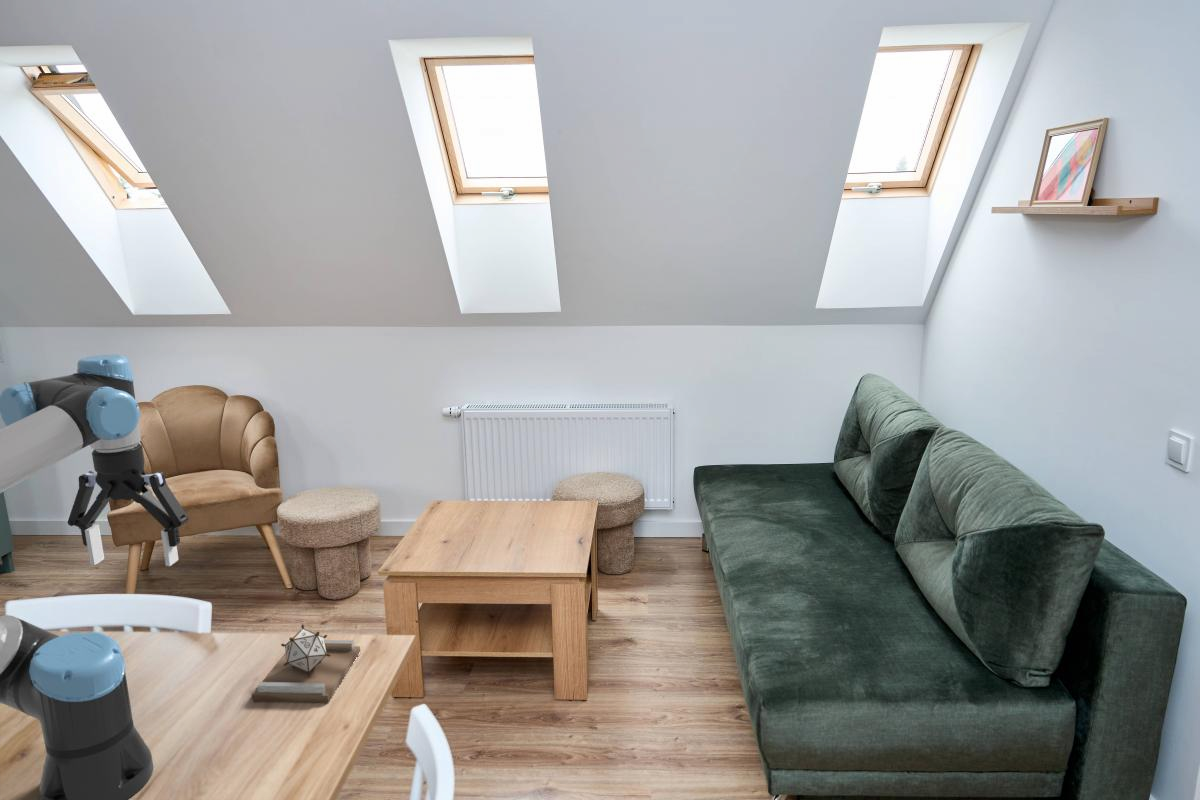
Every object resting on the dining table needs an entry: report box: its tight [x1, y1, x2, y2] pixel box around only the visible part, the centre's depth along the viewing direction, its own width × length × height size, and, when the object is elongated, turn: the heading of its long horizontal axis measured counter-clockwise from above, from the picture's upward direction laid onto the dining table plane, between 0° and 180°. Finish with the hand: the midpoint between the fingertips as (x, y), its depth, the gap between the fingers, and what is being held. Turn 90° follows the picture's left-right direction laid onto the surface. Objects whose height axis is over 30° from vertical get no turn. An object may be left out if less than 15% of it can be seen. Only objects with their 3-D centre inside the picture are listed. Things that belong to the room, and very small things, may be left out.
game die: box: [280, 623, 331, 677], centre depth 159 cm, size 9×8×10 cm
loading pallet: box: [251, 639, 361, 704], centre depth 160 cm, size 17×14×3 cm
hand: (134, 562), depth 148 cm, fingers open, 13 cm apart
